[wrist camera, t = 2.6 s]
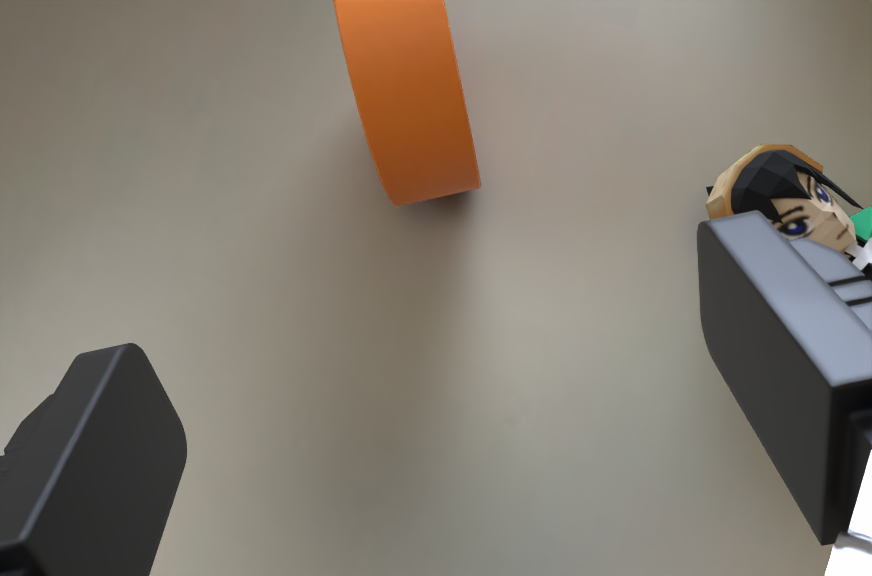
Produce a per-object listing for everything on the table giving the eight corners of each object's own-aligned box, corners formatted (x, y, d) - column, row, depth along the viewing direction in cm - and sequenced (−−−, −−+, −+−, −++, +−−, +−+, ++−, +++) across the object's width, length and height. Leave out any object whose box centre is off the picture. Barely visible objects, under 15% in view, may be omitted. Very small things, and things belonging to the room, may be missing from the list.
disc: (371, 33, 31) (308, -137, 22) (443, 15, 31) (408, -163, 22) (410, 240, 29) (358, 143, 20) (487, 223, 29) (469, 118, 20)
